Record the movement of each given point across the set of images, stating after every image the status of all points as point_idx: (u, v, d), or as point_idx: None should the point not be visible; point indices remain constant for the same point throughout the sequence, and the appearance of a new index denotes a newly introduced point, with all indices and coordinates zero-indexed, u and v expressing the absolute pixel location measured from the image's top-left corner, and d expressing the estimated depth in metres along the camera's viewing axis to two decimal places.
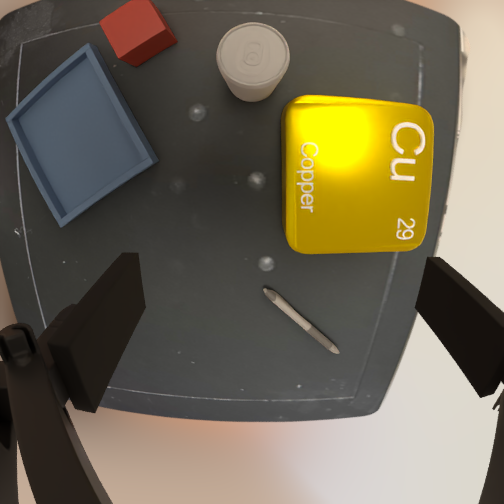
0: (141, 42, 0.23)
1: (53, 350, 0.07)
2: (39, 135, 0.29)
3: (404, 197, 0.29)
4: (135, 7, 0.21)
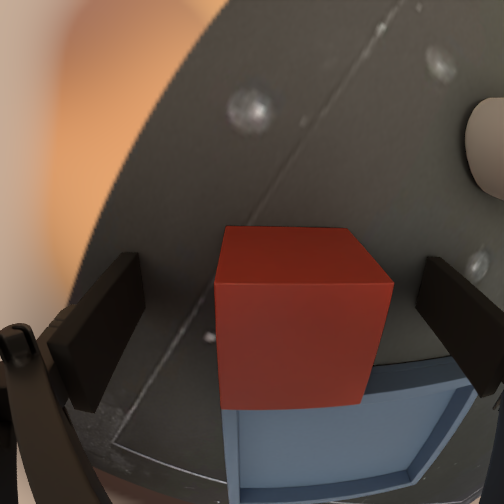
0: (374, 351, 0.09)
1: (53, 350, 0.07)
2: (293, 477, 0.20)
3: None
4: (254, 327, 0.09)
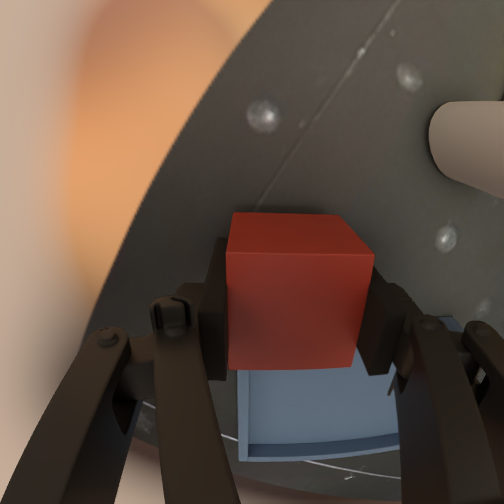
0: (360, 315, 0.11)
1: (202, 320, 0.09)
2: (296, 432, 0.24)
3: None
4: (258, 290, 0.11)
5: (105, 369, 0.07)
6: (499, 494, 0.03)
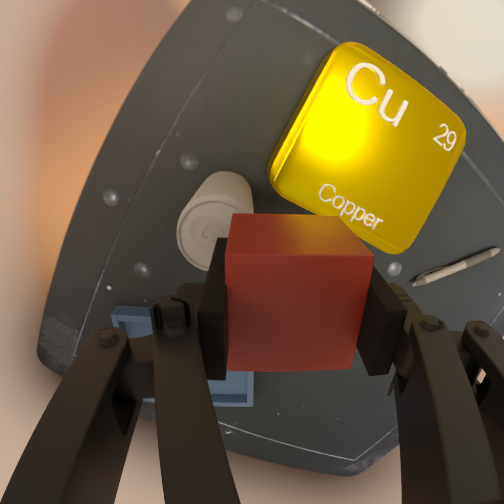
0: (360, 317, 0.11)
1: (202, 320, 0.09)
2: None
3: (418, 121, 0.23)
4: (257, 292, 0.11)
5: (105, 369, 0.07)
6: (499, 494, 0.03)
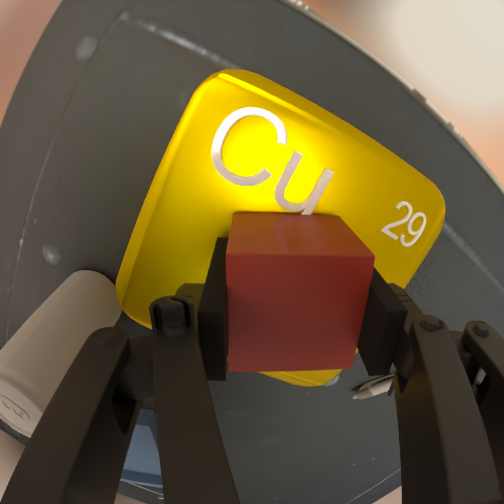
0: (361, 316, 0.11)
1: (202, 320, 0.09)
2: None
3: (353, 202, 0.15)
4: (258, 292, 0.11)
5: (105, 369, 0.07)
6: (499, 494, 0.03)
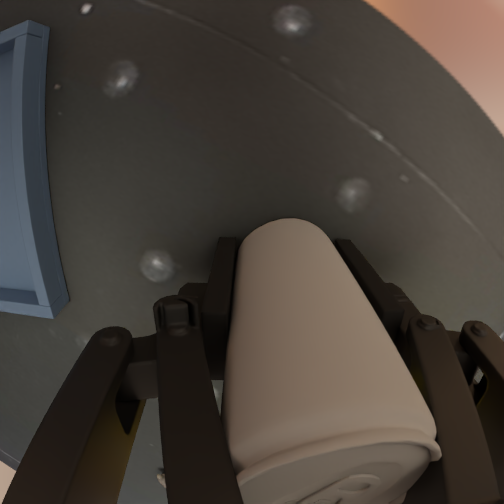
0: None
1: (205, 319, 0.09)
2: None
3: None
4: None
5: (108, 369, 0.07)
6: (497, 494, 0.03)
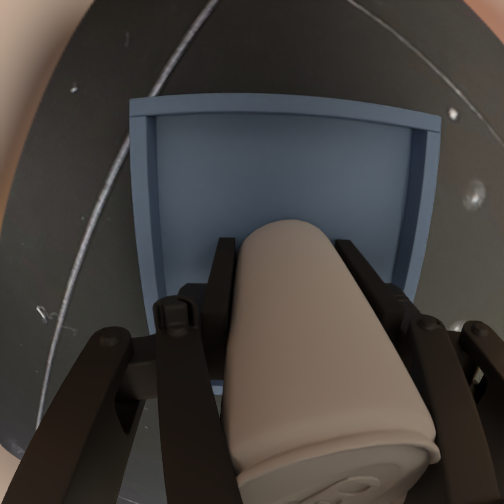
0: None
1: (205, 319, 0.09)
2: (196, 199, 0.15)
3: None
4: None
5: (108, 369, 0.07)
6: (498, 494, 0.03)
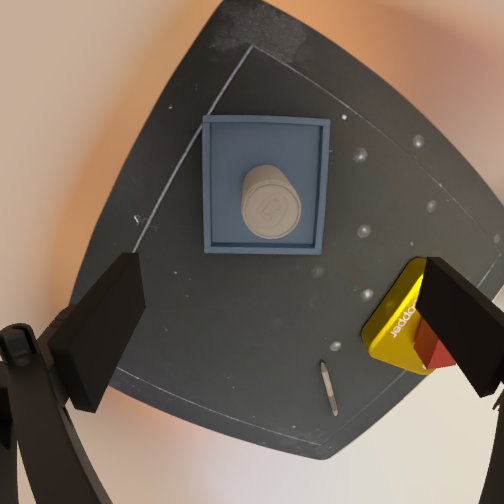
0: (442, 366, 0.36)
1: (53, 350, 0.07)
2: (227, 157, 0.35)
3: None
4: None
5: None
6: None
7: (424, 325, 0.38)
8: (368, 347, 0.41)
